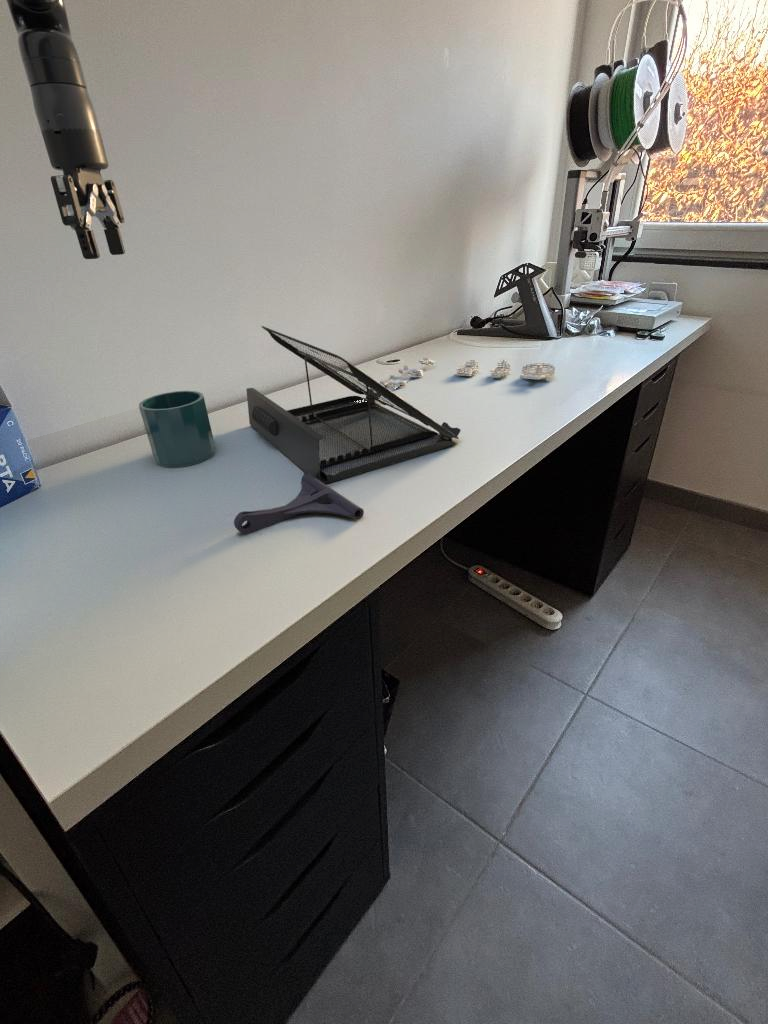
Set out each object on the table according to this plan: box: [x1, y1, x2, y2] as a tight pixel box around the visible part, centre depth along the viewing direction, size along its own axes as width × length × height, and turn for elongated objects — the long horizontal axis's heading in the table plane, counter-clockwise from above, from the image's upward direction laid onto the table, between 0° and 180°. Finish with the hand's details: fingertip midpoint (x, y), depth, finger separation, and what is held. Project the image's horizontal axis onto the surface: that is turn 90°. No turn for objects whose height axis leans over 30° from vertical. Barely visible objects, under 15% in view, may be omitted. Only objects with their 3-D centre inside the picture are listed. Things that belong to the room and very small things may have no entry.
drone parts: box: [379, 357, 556, 391], centre depth 121 cm, size 23×35×3 cm, turn 60°
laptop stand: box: [245, 325, 462, 485], centre depth 93 cm, size 33×28×18 cm
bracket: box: [233, 473, 365, 535], centre depth 71 cm, size 14×15×3 cm
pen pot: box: [138, 390, 217, 469], centre depth 90 cm, size 10×10×10 cm
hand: (105, 256), depth 82 cm, fingers open, 8 cm apart
